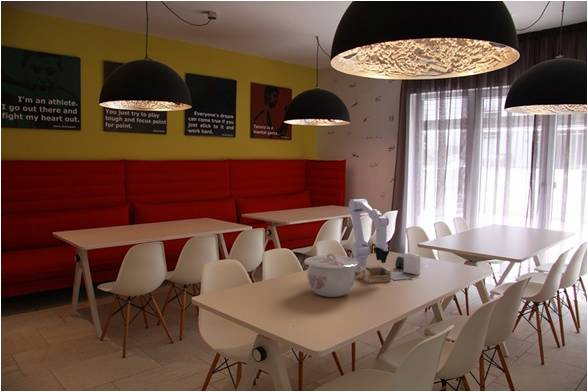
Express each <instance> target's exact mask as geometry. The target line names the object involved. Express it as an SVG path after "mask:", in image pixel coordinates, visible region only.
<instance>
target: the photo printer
mask: <svg viewBox="0 0 588 392" xmlns="http://www.w3.org/2000/svg"><path fill="white" fill-rule="evenodd" d="M404 253H405V255H404V269H403V272H404V273H408V274H411V275H416V276H419V275H420V274H421V255H419V254H417V253H415V252H404Z"/></svg>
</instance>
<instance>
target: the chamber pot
mask: <svg viewBox="0 0 588 392" xmlns="http://www.w3.org/2000/svg"><path fill="white" fill-rule="evenodd" d="M303 263H304V264H305V265H307V266H308V268H307V269H306V277H307V283H308V285H309V286H310V289H311V290H312V292H313V293H314V294H316V295H318V296H320V297H325V298H339V297H342V296H346V295H347V294H348V293H349V292H350V290H351V289H352V288H353V286H354V283H355V279H356V272H355V270H354V268H353V267H354V266H356V265H358V261H357V260H355V259H353V257H348V256H344V255H337V254H333V253H332V252H331V253H328V254H320V255H314V256H310V257H306V258H305V259H304V261H303Z"/></svg>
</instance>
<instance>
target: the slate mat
mask: <svg viewBox="0 0 588 392" xmlns="http://www.w3.org/2000/svg"><path fill="white" fill-rule="evenodd" d="M407 279H408V280H412V277H409V276H407V275H406V274H403V273H401V272H399V271H397V272H391V277H390V280H391V281H395V280H396V281H404V280H405V281H406V280H407Z"/></svg>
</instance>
